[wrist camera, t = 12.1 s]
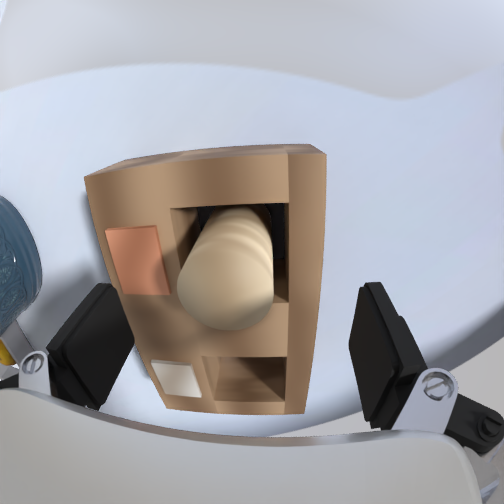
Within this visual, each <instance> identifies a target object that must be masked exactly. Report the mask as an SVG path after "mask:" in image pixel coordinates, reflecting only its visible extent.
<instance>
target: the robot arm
mask: <svg viewBox="0 0 504 504" xmlns="http://www.w3.org/2000/svg"><path fill="white" fill-rule="evenodd" d="M134 342H135V338H134V335H133V332H132V330H131V327H130V325H129V322H128V319H127V317H126V314H125V312H124V309H123V306H122V303H121V301H120V298H119V295H118V292H117V290H116V288H114V287H113V285H112V284H109V283H98V284H97V285H96V286H95V287H94V288H93V289H92V291H91V292H90V293H89V294H88V295H87V296H86V298H85V299H84V300H83V301H82V302H81V304H80V305H79V306H78V307H77V308H76V310H75V311H74V312H73V313H72V315H71V316H70V317H69V318H68V319H67V321H66V322H65V323H64V325H63V326H62V327H61V328H60V330H59V331H58V332H57V334H56V335H55V336H54V337H53V339H52V340H51V341H50V343H49V344H48V345H47V347H46V349H47V350H48V352H49V355H48V356H47V355H46V354H45V353H44V352H42V351H34V352H31V353H29V354H28V355H27V356H25V357H24V359H23V360H22V361H21V363H20V366H19V373H18V374H15V375H13V376H11V377H8V378H6V379H4V380H1V381H0V504H504V419H503V417H502V416H501V415H500V414H499V413H498V412H496V411H494V410H492V409H490V408H488V407H486V406H484V405H482V404H480V403H477V402H475V401H473V400H471V399H469V398H467V397H465V396H463V395H461V394H458V383H457V381H456V379H455V377H454V376H453V375H452V374H451V373H450V372H448V371H446V370H444V369H441V368H430V369H428V368H427V366H426V363H425V361H424V359H423V357H422V355H421V352H420V350H419V348H418V346H417V344H416V342H415V340H414V338H413V336H412V334H411V332H410V330H409V328H408V326H407V324H406V322H405V320H404V318H403V317H402V316H398V314H397V312H396V310H395V308H394V306H393V304H392V302H391V300H390V298H389V296H388V294H387V292H386V291H385V289H384V287H383V285H382V283H381V282H369V283H365V284H364V287H360V288H359V293H358V299H357V304H356V309H355V314H354V319H353V324H352V329H351V334H350V338H349V351H350V355H351V359H352V364H353V368H354V372H355V376H356V381H357V385H358V390H359V394H360V399H361V404H362V409H363V414H364V418H365V421H366V422H368V421H370V425H371V429H374V428H381V431H373V432H363V433H352V434H343V435H331V436H314V437H278V438H276V437H275V438H274V437H242V436H228V435H216V434H206V433H198V432H190V431H183V430H177V429H171V428H165V427H160V426H154V425H149V424H145V423H140V422H136V421H131V420H127V419H123V418H119V417H115V416H112V415H108V414H104V413H101V412H98V411H99V409H100V407H101V405H103V404H104V403H105V402H106V400H107V397H108V395H109V393H110V391H111V389H112V387H113V385H114V383H115V381H116V379H117V377H118V375H119V373H120V371H121V369H122V367H123V365H124V363H125V361H126V359H127V357H128V355H129V353H130V351H131V349H132V347H133V345H134ZM85 406H87V407H88V408H90V409H88V408H85ZM91 409H93V410H91ZM94 410H97V411H94Z"/></svg>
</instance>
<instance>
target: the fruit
mask: <svg viewBox="0 0 504 504" xmlns="http://www.w3.org/2000/svg"><path fill="white" fill-rule="evenodd" d="M0 363H1V364H3V365H6V366H11V365H15V364H16V362H15V360H14V359H13V357H12V356H11V354H10V353H9V351H8V350H7V348H6V347H5V345H4V343H3V342H2V340H0Z"/></svg>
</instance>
